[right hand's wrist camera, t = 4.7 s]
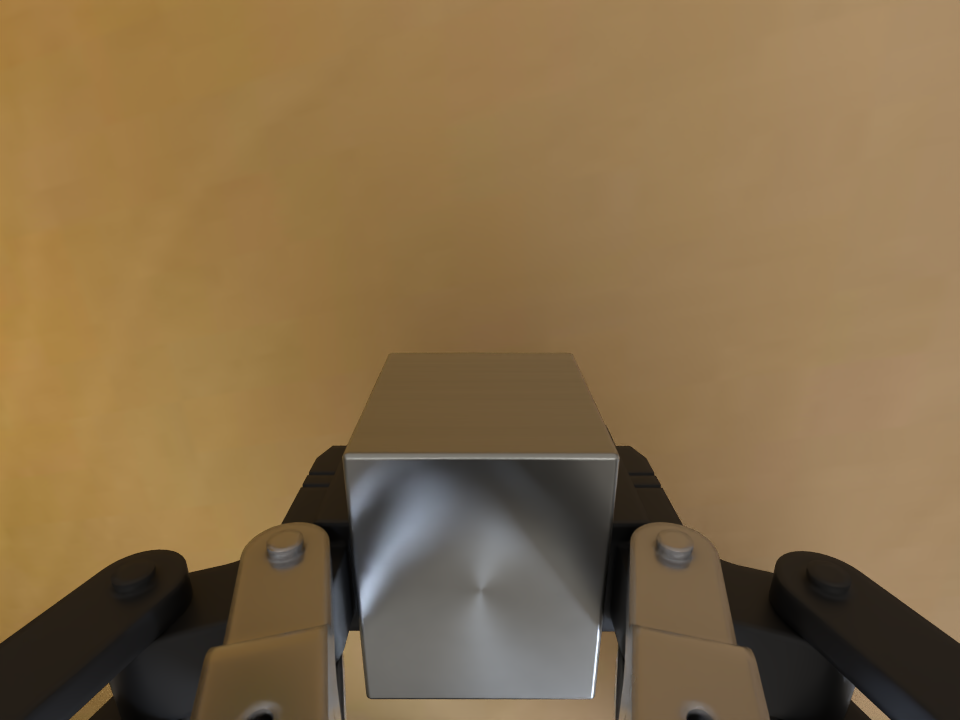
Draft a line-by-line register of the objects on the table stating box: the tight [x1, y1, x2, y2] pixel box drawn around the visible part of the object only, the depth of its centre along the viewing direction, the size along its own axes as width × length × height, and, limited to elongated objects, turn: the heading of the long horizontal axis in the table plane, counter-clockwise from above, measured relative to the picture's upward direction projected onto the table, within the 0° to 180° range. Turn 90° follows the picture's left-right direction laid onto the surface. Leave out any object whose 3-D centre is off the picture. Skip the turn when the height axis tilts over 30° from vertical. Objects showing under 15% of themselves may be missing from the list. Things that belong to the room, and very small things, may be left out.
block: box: [342, 353, 620, 699], centre depth 11 cm, size 4×5×4 cm
